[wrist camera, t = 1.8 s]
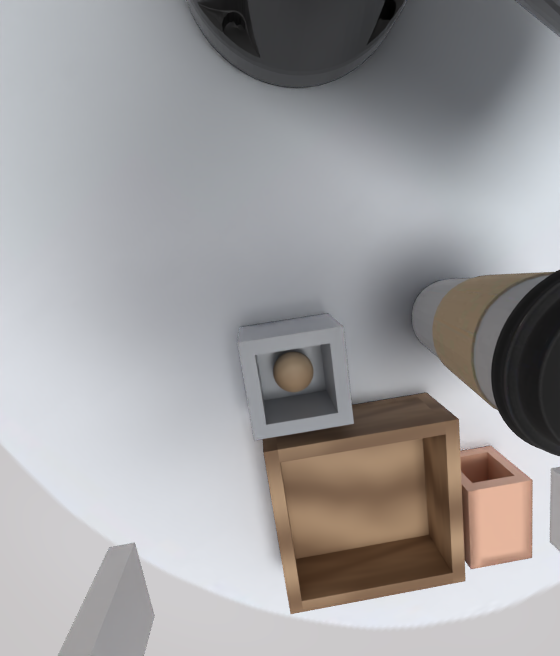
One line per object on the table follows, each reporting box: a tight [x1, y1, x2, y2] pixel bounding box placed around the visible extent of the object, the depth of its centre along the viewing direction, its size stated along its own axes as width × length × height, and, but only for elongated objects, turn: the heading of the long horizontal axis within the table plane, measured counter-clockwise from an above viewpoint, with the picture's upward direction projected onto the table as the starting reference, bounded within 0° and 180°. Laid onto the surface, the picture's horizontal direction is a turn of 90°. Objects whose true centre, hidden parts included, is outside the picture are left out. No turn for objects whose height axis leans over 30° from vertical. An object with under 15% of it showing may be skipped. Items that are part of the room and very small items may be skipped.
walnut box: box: [263, 393, 465, 614], centre depth 30 cm, size 14×14×5 cm
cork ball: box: [273, 352, 314, 392], centre depth 28 cm, size 3×3×3 cm
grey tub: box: [237, 313, 354, 440], centre depth 27 cm, size 7×7×5 cm
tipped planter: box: [460, 446, 532, 569], centre depth 31 cm, size 7×5×5 cm
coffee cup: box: [412, 270, 560, 456], centre depth 23 cm, size 9×9×15 cm
